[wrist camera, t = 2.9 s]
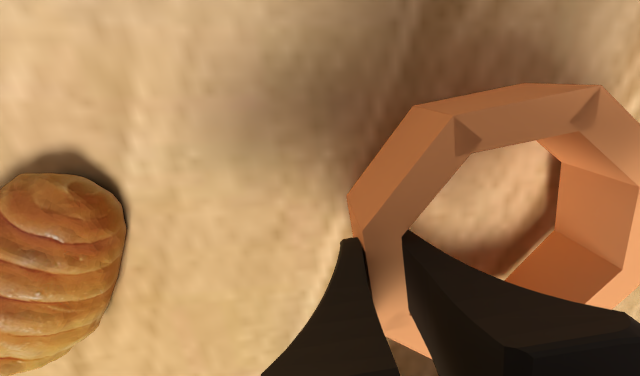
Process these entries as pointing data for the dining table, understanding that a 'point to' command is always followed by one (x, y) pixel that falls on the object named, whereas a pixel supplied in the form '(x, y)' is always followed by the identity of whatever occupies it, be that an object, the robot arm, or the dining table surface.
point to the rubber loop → (494, 132)
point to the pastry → (54, 265)
